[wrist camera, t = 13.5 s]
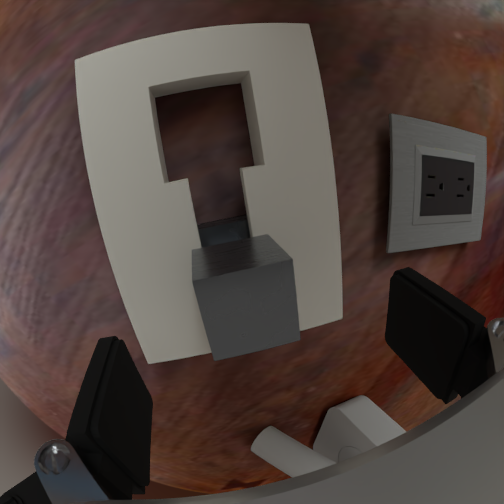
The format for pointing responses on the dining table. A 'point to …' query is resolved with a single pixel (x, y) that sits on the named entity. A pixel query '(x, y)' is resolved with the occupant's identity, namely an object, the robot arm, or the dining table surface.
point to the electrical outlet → (434, 184)
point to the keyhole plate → (178, 192)
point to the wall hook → (329, 438)
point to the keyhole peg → (243, 289)
